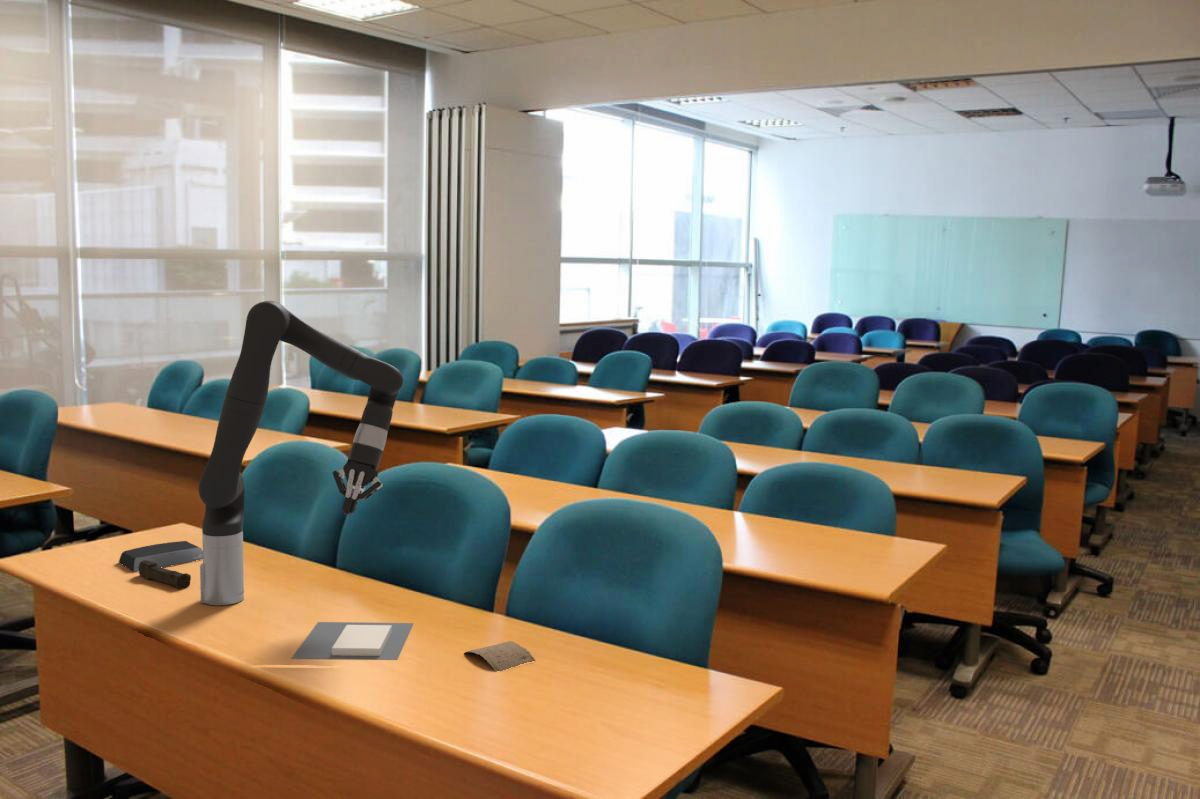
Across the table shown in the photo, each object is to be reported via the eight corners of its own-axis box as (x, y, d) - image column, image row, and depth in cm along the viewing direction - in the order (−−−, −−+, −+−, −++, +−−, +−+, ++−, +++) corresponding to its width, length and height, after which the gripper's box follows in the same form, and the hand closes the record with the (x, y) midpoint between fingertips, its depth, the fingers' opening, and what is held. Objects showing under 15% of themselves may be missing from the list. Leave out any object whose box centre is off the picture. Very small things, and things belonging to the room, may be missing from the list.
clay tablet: (537, 665, 202) (538, 652, 201) (498, 677, 195) (498, 664, 195) (498, 645, 212) (498, 633, 212) (460, 655, 206) (460, 643, 206)
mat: (290, 660, 199) (290, 658, 199) (318, 624, 221) (318, 621, 221) (397, 662, 200) (397, 659, 200) (413, 625, 222) (413, 623, 222)
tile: (346, 631, 215) (331, 655, 201) (346, 624, 215) (331, 648, 201) (391, 632, 215) (379, 656, 202) (391, 625, 215) (379, 648, 201)
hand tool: (192, 587, 246) (191, 569, 245) (177, 591, 242) (177, 573, 242) (149, 574, 256) (149, 557, 255) (135, 577, 253) (134, 560, 252)
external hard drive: (206, 561, 269) (206, 547, 269) (134, 574, 256) (134, 559, 255) (187, 551, 278) (187, 537, 278) (117, 564, 265) (116, 549, 264)
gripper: (337, 436, 230) (316, 506, 227) (389, 448, 229) (368, 519, 225) (348, 442, 238) (327, 509, 234) (398, 454, 236) (377, 522, 233)
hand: (347, 514), depth 230 cm, fingers closed
